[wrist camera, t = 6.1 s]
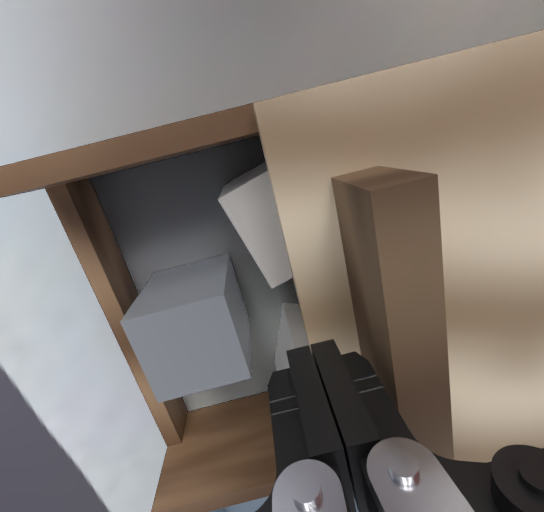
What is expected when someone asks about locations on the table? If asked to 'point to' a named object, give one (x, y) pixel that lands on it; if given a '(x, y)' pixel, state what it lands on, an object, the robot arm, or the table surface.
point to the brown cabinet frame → (122, 293)
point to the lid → (425, 235)
